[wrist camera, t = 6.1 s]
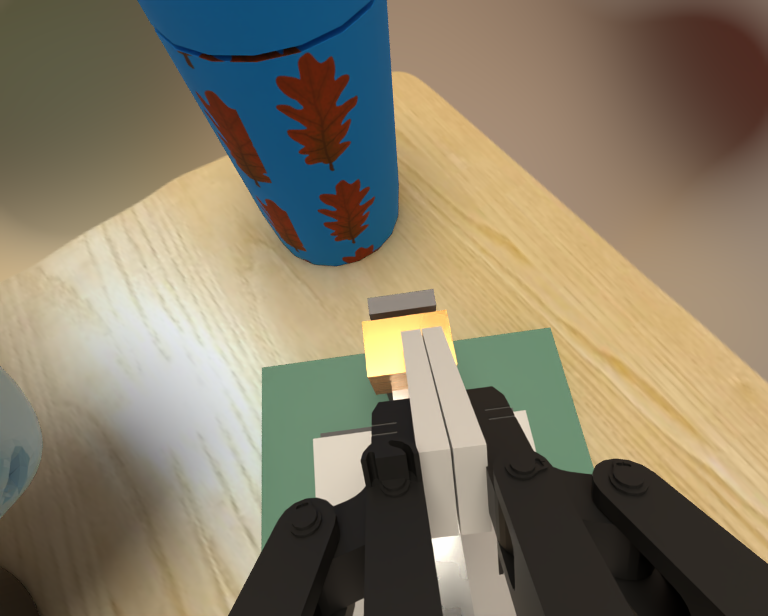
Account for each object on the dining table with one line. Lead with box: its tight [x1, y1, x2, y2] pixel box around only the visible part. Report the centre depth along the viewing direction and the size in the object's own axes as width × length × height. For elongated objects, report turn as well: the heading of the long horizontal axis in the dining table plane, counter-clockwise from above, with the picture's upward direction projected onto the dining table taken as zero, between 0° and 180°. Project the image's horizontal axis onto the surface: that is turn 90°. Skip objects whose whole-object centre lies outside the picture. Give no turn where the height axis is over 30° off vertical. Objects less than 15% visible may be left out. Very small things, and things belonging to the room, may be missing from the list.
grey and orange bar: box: [362, 310, 474, 616], centre depth 15 cm, size 4×16×4 cm, turn 7°
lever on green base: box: [262, 289, 594, 616], centre depth 19 cm, size 20×22×11 cm
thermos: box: [137, 0, 399, 266], centre depth 22 cm, size 11×11×25 cm
